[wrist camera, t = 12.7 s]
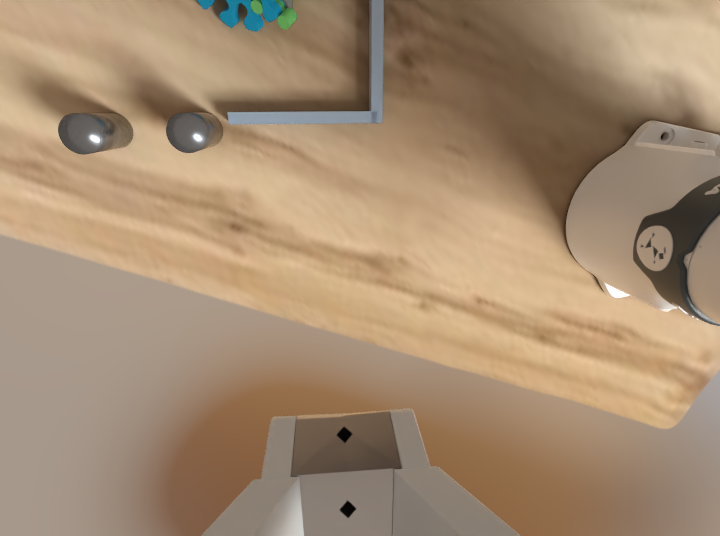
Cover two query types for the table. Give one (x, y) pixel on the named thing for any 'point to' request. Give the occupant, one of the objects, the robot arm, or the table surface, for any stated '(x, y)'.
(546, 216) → the table surface
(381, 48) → the u-shaped bent rod
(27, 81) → the table surface
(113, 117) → the spacer posts
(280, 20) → the gear
